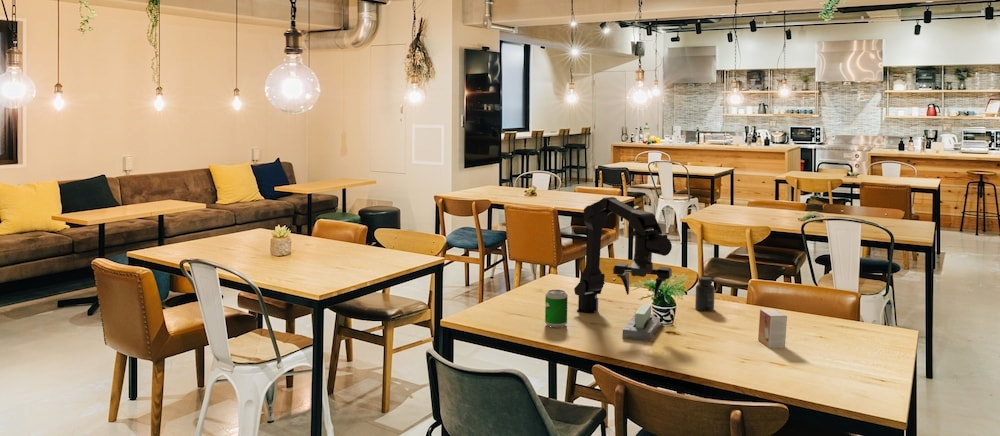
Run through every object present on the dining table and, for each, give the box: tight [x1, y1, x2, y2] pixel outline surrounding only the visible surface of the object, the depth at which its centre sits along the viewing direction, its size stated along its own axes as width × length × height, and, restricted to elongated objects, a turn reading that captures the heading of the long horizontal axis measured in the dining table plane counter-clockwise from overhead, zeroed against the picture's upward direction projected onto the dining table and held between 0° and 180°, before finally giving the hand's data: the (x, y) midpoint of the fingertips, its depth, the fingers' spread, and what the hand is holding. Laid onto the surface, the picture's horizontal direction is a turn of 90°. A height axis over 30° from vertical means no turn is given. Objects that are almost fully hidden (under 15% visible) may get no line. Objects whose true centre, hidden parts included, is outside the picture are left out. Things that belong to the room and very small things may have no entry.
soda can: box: [544, 289, 568, 328], centre depth 266 cm, size 8×8×12 cm
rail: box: [622, 313, 661, 342], centre depth 261 cm, size 9×22×3 cm, turn 159°
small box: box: [757, 308, 788, 349], centre depth 247 cm, size 8×6×10 cm
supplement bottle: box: [694, 276, 716, 312], centre depth 288 cm, size 7×7×12 cm
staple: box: [634, 303, 652, 328], centre depth 261 cm, size 3×12×8 cm, turn 159°
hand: (641, 295), depth 261 cm, fingers open, 9 cm apart
